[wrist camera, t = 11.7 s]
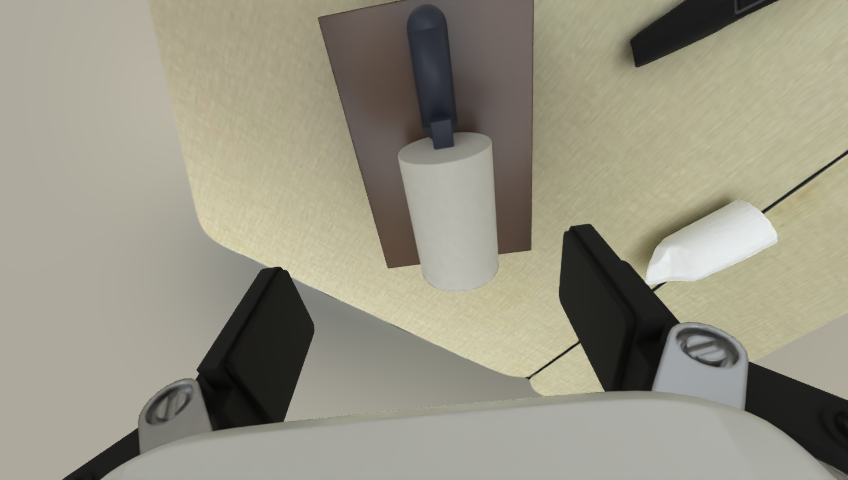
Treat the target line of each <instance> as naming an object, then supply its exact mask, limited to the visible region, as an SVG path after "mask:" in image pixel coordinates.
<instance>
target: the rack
mask: <svg viewBox="0 0 848 480" xmlns="http://www.w3.org/2000/svg"><path fill="white" fill-rule="evenodd" d="M423 4H432V5H434V6H436V7H438V8H439V9H440V10H441V11H442V12H443V14H444V16H445V18H446V22H447V28H448V37H449V47H450V56H451V65H452V75H453V84H454V93H455V103H456V112H457V128H456V131H455V132H454V133H457V132H470V133H478V134H483V135H485V136H488V137H489V138H490V139H491V141H492V154H493V172H494V190H495V208H496V226H497V244H498V254H505V253H513V252H521V251H529V250H531V229H532V126H533V23H534V0H399V1H395V2H390V3H385V4H380V5H375V6H370V7H365V8H360V9H355V10H351V11H346V12H341V13H336V14H331V15H326V16H321V17H318V21H319V24H320V28H321V31H322V35H323V39H324V42H325V46H326V49H327V53H328V56H329V60H330V64H331V67H332V71H333V74H334V78H335V81H336V85H337V89H338V92H339V96H340V99H341V103H342V106H343V110H344V114H345V117H346V121H347V124H348V128H349V131H350V135H351V139H352V142H353V146H354V149H355V153H356V156H357V160H358V164H359V167H360V171H361V174H362V178H363V181H364V185H365V189H366V192H367V196H368V199H369V203H370V206H371V210H372V214H373V217H374V221H375V224H376V228H377V231H378V235H379V239H380V242H381V246H382V249H383V253H384V256H385V260H386V264H387V267H388V268H395V267H403V266H411V265H419V264H420V259H419V255H418V250H417V245H416V240H415V236H414V231H413V226H412V222H411V217H410V212H409V207H408V203H407V198H406V193H405V188H404V184H403V179H402V174H401V170H400V165H399V160H398V153H399V152H400V150H401V149H403V148H404V147H405V146H407V145H409V144H411V143H413V142H415V141H418V140H420V139H424V138H427V137H428V136H427V135H426V134H425V132H424V130H423V127H422V121H421V115H420V109H419V103H418V97H417V91H416V85H415V78H414V72H413V66H412V60H411V54H410V48H409V42H408V35H407V22H408V18H409V16H410V14H411V13H412V11H413V10H414V9H415V8H416V7H418V6H420V5H423Z"/></svg>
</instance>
